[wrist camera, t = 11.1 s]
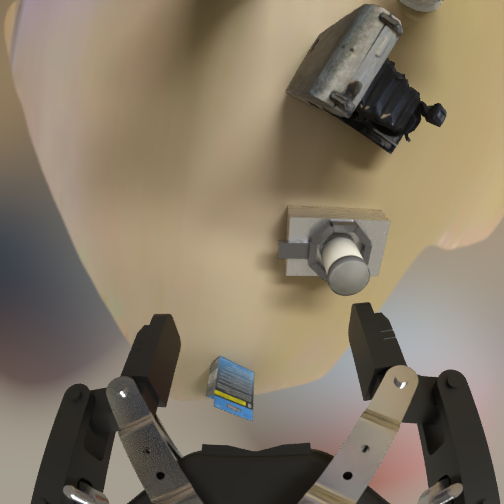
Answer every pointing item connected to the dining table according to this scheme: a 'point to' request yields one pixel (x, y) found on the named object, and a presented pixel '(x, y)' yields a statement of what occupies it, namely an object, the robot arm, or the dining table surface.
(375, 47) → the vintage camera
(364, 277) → the cream grey cylinder
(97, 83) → the dining table surface
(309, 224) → the octagonal ring slab
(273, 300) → the dining table surface
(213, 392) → the blue printed box
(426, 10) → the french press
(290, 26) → the dining table surface
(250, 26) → the dining table surface
